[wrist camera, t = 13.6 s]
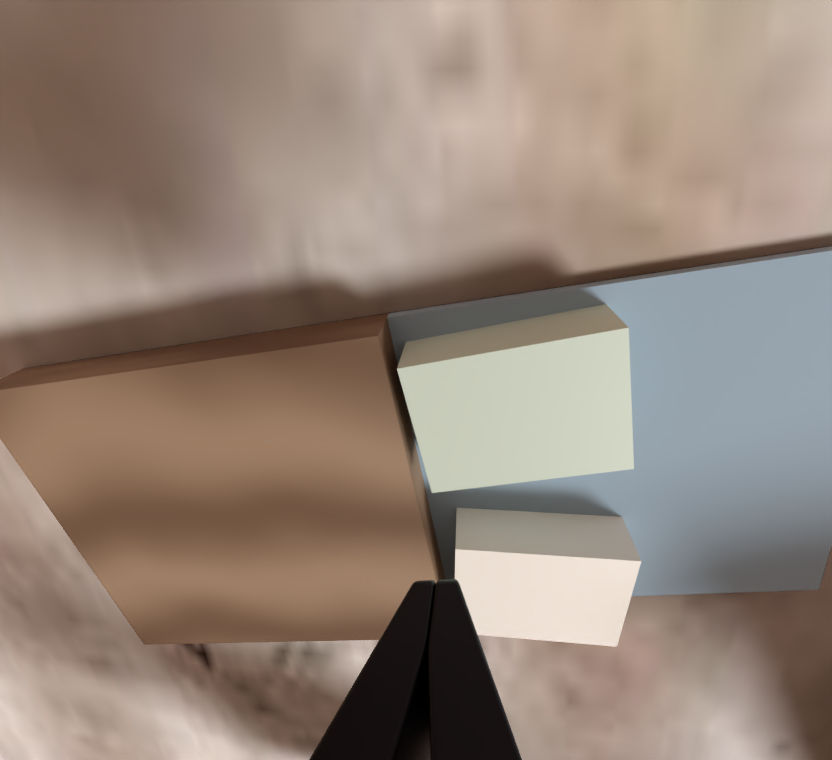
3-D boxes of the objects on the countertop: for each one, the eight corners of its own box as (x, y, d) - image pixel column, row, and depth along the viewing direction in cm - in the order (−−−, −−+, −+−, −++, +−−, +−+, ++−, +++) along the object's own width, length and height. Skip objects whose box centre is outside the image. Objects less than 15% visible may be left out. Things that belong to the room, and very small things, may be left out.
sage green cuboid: (613, 431, 15) (634, 468, 13) (435, 455, 16) (431, 492, 14) (606, 304, 13) (628, 327, 11) (405, 341, 14) (396, 368, 12)
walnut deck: (451, 594, 19) (449, 638, 18) (170, 604, 22) (144, 644, 20) (389, 313, 14) (377, 336, 12) (23, 368, 16) (-31, 394, 15)
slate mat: (811, 581, 17) (819, 590, 17) (451, 594, 19) (450, 602, 19) (907, 234, 12) (921, 237, 11) (389, 313, 14) (387, 317, 14)
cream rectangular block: (602, 598, 18) (616, 646, 16) (454, 587, 19) (453, 632, 17) (622, 516, 16) (641, 561, 14) (456, 507, 17) (455, 549, 15)
